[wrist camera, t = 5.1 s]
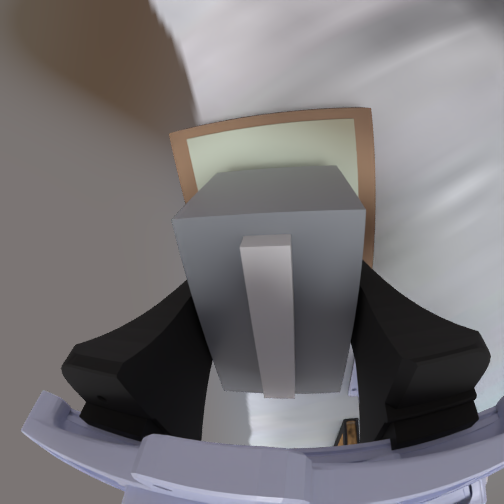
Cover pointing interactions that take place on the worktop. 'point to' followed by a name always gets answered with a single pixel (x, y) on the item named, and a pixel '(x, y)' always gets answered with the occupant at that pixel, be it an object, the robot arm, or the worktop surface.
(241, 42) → the worktop surface
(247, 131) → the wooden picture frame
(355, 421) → the ammunition clip
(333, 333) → the grey box
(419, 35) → the worktop surface
